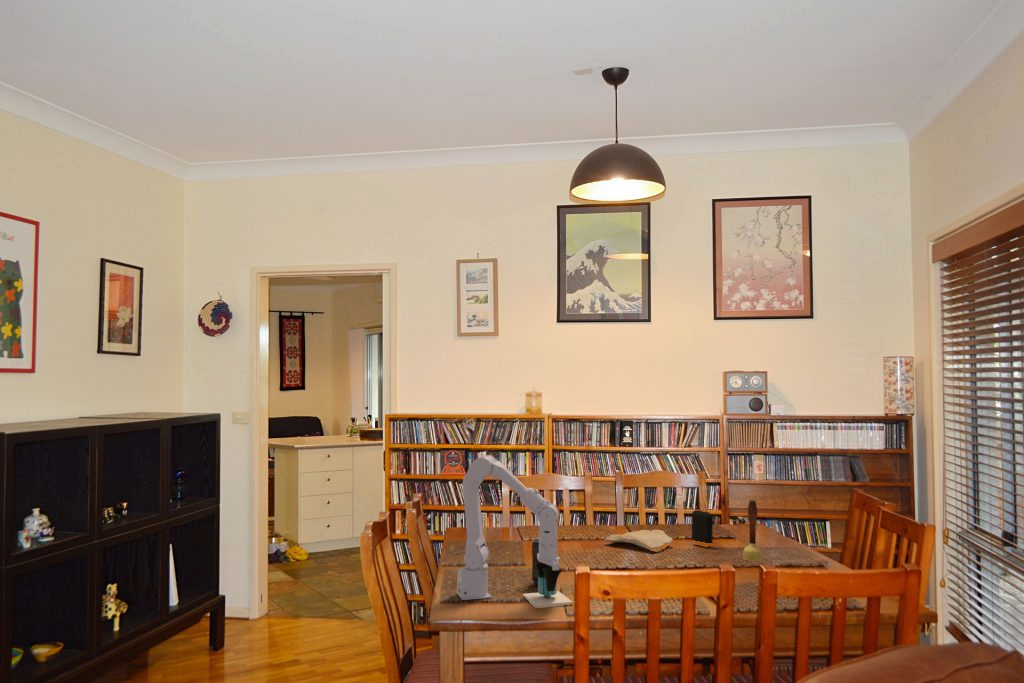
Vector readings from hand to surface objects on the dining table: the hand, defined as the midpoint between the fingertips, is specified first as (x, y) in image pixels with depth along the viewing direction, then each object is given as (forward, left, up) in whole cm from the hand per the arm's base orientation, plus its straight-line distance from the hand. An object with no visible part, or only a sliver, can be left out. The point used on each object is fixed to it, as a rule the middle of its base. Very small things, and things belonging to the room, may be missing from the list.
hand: (547, 588), depth 232 cm
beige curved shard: (+65, +63, -4) cm, 91 cm away
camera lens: (+5, +17, -4) cm, 18 cm away
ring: (0, 0, -1) cm, 1 cm away
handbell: (+89, +19, -4) cm, 91 cm away
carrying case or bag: (+90, +55, -4) cm, 106 cm away
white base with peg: (0, 0, -4) cm, 4 cm away
